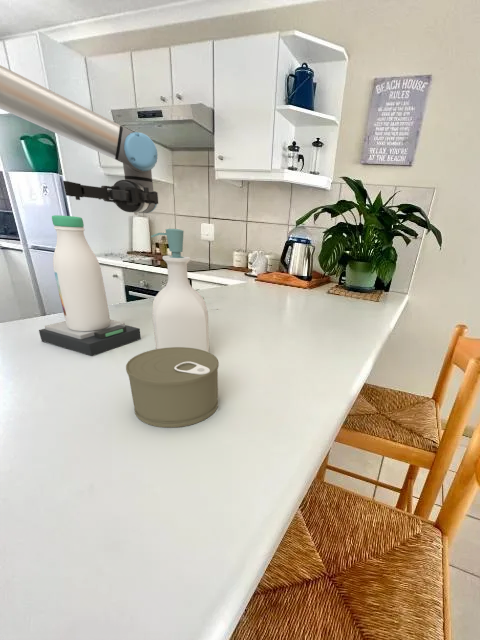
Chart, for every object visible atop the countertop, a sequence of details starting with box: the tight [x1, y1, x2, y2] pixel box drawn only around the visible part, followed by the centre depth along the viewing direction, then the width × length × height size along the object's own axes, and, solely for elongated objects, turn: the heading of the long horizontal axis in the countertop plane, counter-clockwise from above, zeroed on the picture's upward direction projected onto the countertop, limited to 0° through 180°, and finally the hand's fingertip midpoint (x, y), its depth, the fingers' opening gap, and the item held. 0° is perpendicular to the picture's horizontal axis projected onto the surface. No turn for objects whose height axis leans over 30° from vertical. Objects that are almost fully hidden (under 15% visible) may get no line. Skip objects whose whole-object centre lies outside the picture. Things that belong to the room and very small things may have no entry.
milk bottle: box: [51, 214, 111, 331], centre depth 61 cm, size 8×8×20 cm
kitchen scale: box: [38, 319, 142, 357], centre depth 67 cm, size 14×12×3 cm
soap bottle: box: [150, 228, 210, 353], centre depth 59 cm, size 10×10×23 cm
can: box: [125, 347, 220, 429], centre depth 46 cm, size 12×12×7 cm
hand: (100, 191), depth 70 cm, fingers open, 13 cm apart
